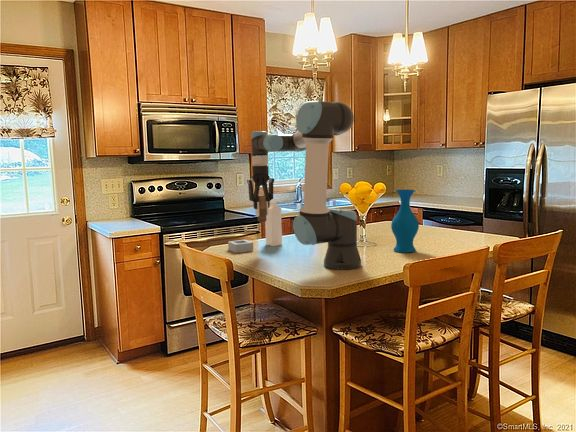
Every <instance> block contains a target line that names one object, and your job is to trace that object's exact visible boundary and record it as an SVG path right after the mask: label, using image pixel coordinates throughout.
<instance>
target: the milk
mask: <svg viewBox="0 0 576 432" xmlns="http://www.w3.org/2000/svg"><path fill="white" fill-rule="evenodd" d="M264 223H265V224H264V225H265V245H266V246H269V245H270V247H277V246H282V245H283V231H282V230H283V227H282V224H283V223H282V207H281V206H279V205H277V201H273V200H271V201H270V207H269V208H268V215H266V221H264Z"/></svg>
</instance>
